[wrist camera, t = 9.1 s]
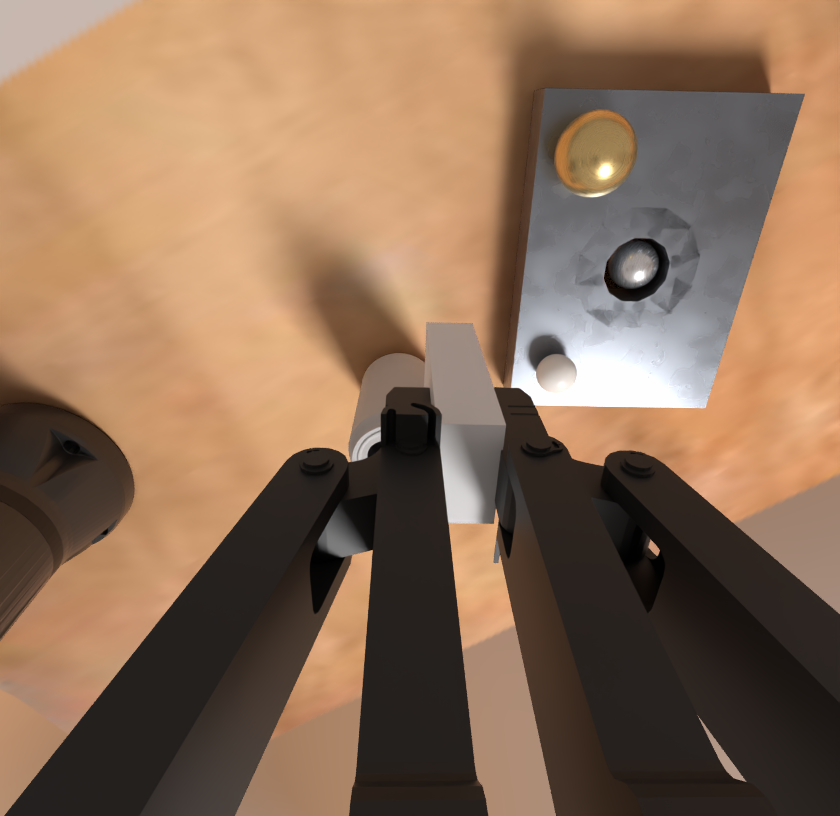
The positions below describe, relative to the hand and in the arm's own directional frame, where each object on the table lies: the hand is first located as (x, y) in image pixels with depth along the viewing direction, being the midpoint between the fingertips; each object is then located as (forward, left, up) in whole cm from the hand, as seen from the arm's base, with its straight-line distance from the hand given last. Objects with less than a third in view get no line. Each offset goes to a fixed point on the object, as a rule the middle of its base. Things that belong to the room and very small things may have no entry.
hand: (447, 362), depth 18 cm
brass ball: (+10, +5, -19) cm, 22 cm away
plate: (+15, -2, -25) cm, 29 cm away
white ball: (+10, -10, -20) cm, 24 cm away
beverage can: (-2, -13, -25) cm, 29 cm away
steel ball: (+15, -2, -23) cm, 28 cm away
